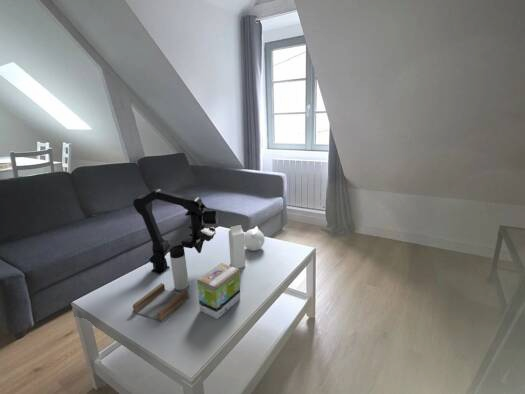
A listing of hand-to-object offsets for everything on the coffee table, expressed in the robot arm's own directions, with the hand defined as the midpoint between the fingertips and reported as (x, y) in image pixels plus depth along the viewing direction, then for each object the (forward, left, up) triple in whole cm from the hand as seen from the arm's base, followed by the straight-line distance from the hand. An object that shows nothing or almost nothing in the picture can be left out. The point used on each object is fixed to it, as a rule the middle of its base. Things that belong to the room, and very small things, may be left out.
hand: (199, 252), depth 139 cm
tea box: (+23, -19, -10) cm, 32 cm away
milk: (+15, +11, -10) cm, 21 cm away
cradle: (0, -28, -10) cm, 30 cm away
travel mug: (0, -15, -10) cm, 18 cm away
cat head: (+15, +30, -10) cm, 35 cm away
